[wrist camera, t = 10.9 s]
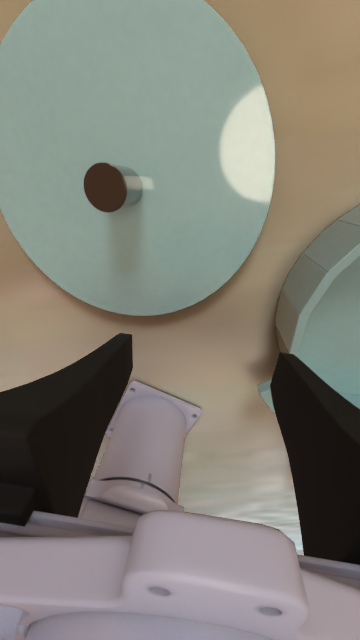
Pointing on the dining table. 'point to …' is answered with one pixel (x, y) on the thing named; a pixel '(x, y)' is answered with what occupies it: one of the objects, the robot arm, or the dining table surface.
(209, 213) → the lid
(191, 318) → the dining table surface
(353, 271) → the pot
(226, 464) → the dining table surface
